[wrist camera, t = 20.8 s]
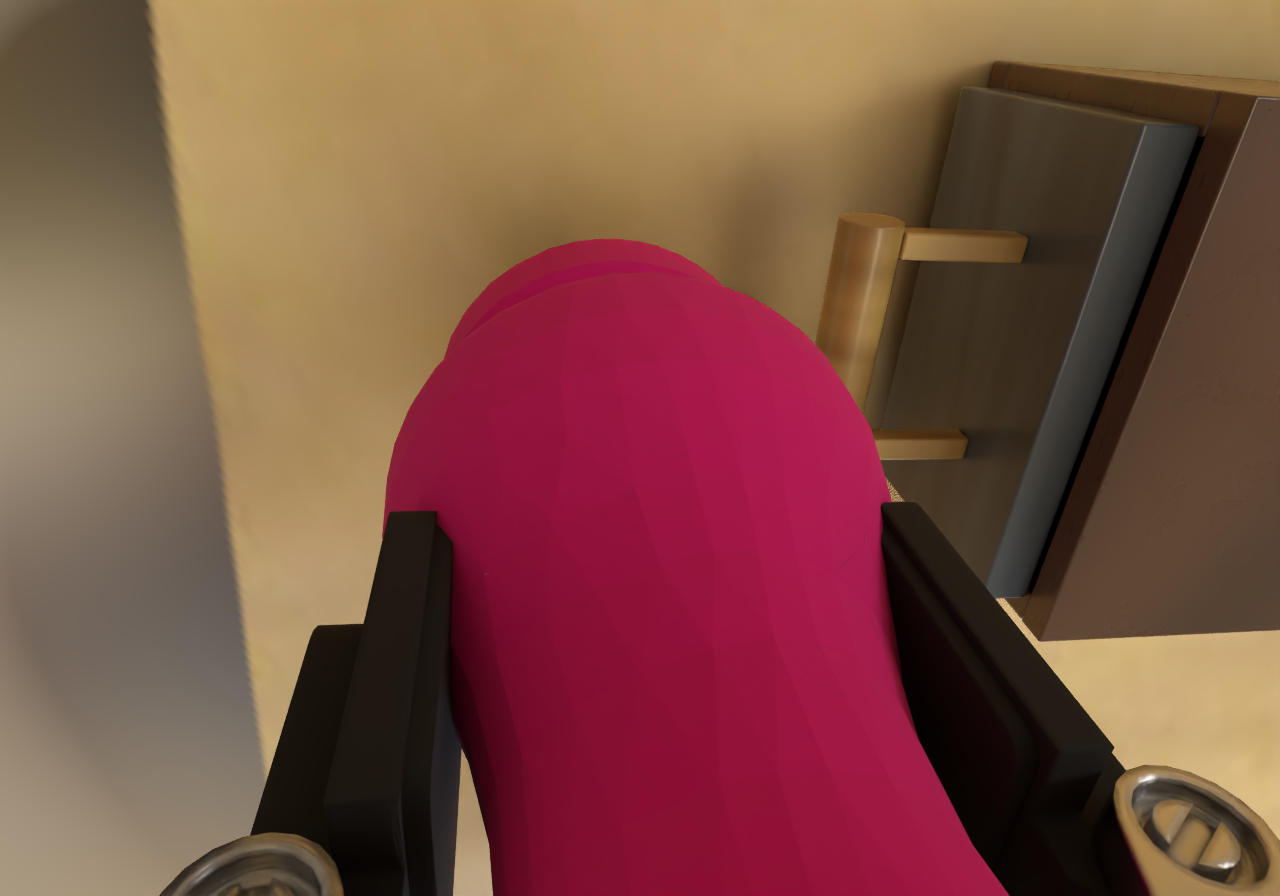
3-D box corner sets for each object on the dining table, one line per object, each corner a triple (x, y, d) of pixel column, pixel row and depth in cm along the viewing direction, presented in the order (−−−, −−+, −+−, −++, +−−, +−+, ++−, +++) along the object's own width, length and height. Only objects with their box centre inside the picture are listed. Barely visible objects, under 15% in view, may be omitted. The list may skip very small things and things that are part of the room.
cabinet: (892, 463, 27) (1038, 642, 19) (993, 60, 21) (1257, 95, 14) (1248, 460, 29) (1504, 619, 22) (1429, 92, 23) (1862, 138, 16)
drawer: (740, 462, 25) (812, 606, 19) (797, 74, 20) (920, 108, 14) (1218, 458, 28) (1411, 583, 22) (1380, 114, 22) (1690, 157, 17)
